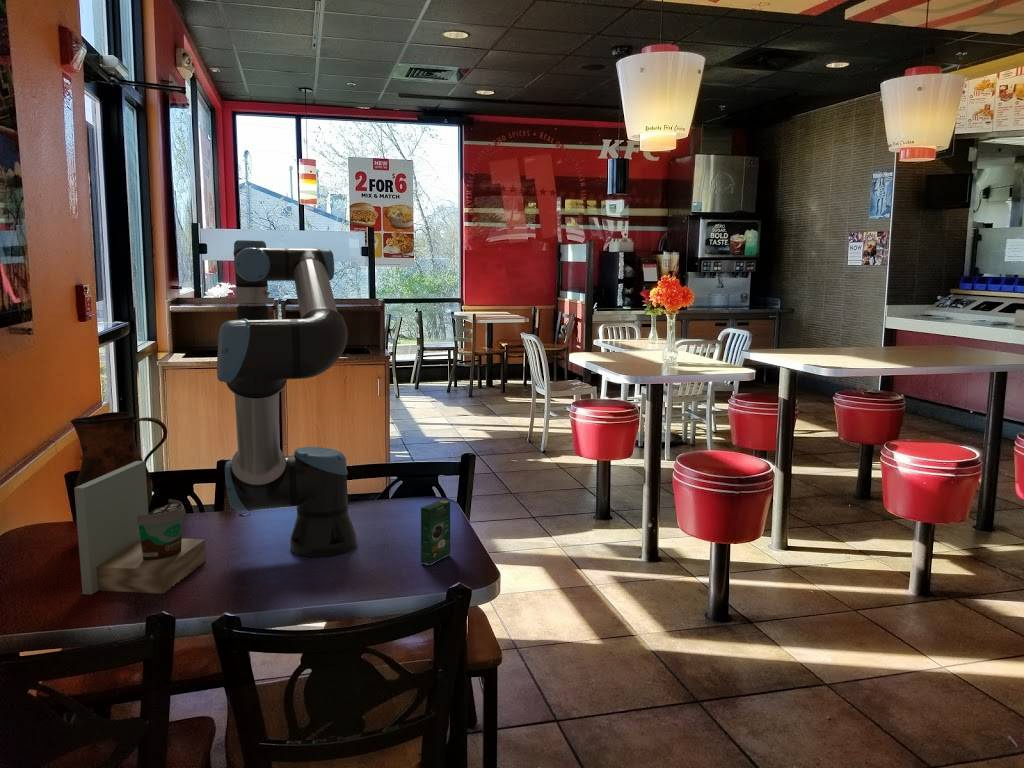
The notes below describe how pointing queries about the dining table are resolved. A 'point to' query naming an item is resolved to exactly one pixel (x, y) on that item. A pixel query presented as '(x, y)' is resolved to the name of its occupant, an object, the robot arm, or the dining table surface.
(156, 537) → the food container
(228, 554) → the dining table surface
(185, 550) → the block
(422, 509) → the coffee box
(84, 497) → the wall board
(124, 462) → the pitcher
